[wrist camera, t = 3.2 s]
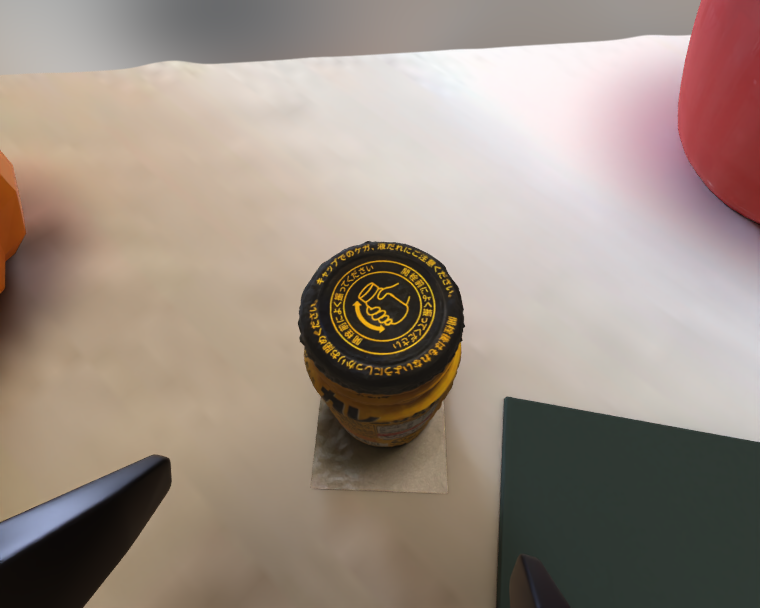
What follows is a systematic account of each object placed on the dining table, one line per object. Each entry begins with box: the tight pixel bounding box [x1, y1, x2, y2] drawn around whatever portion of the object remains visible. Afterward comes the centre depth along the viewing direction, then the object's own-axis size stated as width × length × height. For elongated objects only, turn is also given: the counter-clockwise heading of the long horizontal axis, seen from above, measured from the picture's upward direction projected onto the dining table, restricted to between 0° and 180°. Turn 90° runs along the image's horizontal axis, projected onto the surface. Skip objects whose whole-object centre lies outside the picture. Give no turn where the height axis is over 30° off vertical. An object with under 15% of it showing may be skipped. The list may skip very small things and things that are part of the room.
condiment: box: [298, 241, 465, 494], centre depth 16 cm, size 7×8×12 cm
